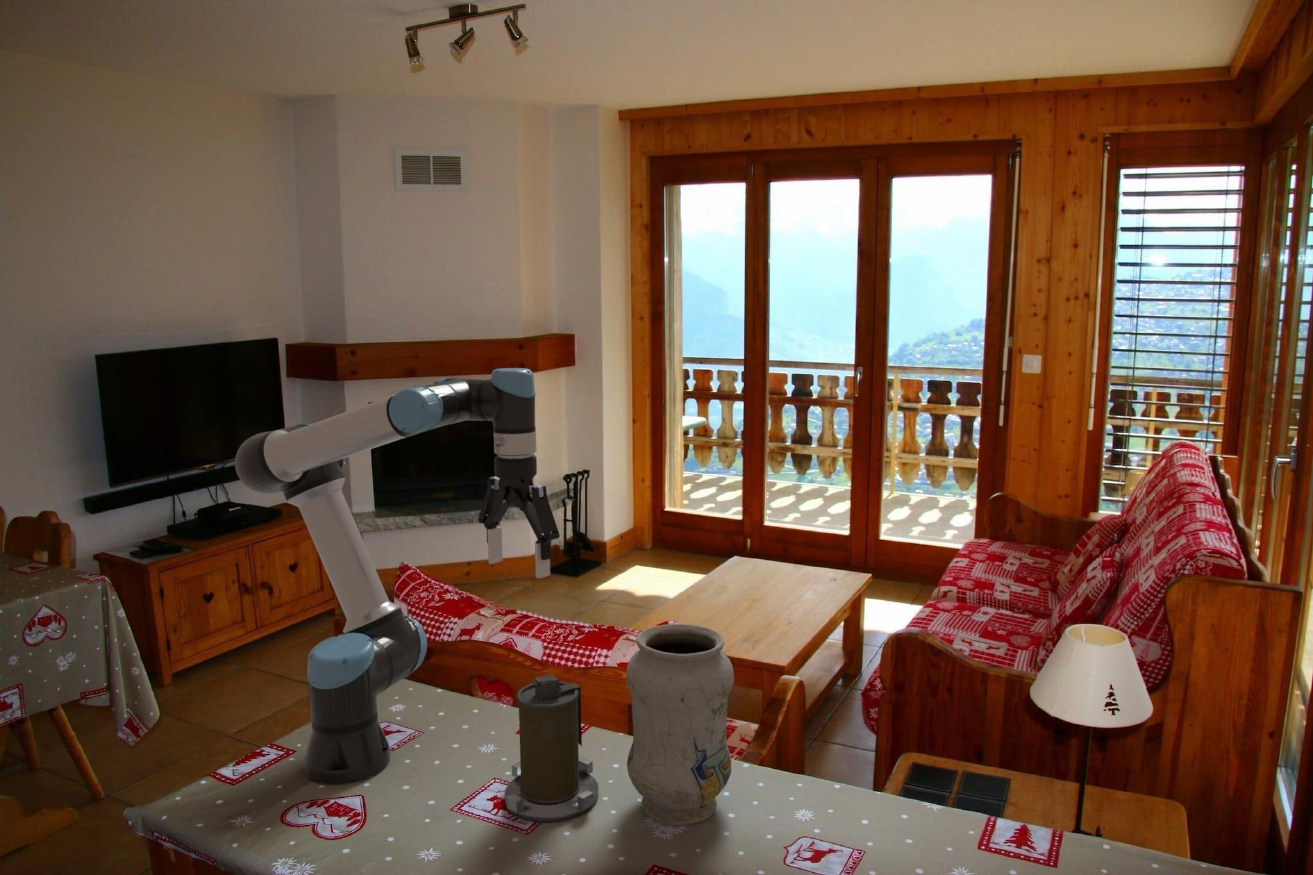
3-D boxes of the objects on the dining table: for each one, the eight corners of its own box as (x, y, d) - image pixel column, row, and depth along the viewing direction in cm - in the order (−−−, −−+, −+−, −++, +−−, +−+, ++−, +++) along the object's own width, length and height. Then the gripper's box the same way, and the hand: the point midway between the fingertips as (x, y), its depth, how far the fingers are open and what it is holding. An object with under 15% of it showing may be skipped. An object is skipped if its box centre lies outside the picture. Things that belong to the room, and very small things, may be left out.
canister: (532, 810, 158) (529, 695, 155) (510, 782, 167) (507, 673, 164) (592, 793, 163) (590, 682, 160) (568, 767, 172) (566, 661, 169)
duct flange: (478, 801, 164) (477, 782, 164) (554, 762, 177) (553, 744, 177) (549, 838, 153) (548, 818, 152) (624, 793, 166) (624, 774, 165)
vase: (749, 791, 166) (749, 626, 161) (711, 846, 150) (710, 664, 145) (655, 771, 174) (653, 612, 169) (609, 820, 157) (605, 647, 153)
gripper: (456, 449, 177) (461, 560, 180) (544, 466, 160) (547, 587, 164) (489, 444, 182) (493, 552, 186) (577, 460, 166) (580, 578, 169)
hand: (518, 569), depth 175 cm, fingers open, 13 cm apart
